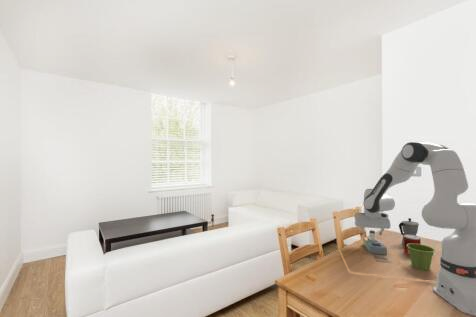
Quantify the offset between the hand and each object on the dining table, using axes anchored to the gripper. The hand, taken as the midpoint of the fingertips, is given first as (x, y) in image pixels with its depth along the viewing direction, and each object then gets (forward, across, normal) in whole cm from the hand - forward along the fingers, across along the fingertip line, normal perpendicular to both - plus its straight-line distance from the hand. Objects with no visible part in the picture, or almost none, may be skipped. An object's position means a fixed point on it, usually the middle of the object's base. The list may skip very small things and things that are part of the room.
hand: (372, 234), depth 149 cm
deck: (+9, -1, -18) cm, 21 cm away
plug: (+8, 0, 0) cm, 8 cm away
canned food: (+9, +20, -6) cm, 23 cm away
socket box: (+9, 0, -4) cm, 10 cm away
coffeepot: (+9, +25, +11) cm, 29 cm away
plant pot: (+10, +16, -25) cm, 31 cm away
